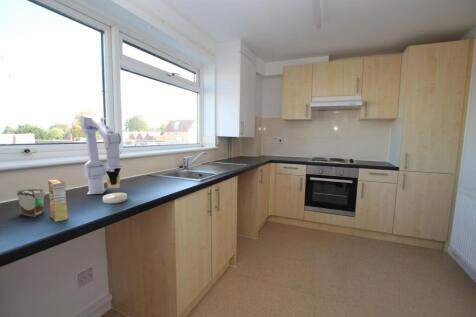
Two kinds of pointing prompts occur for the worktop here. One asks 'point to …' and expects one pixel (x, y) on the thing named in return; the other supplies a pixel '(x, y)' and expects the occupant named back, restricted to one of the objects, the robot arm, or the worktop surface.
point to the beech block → (114, 185)
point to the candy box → (58, 200)
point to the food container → (31, 201)
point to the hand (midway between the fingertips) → (114, 183)
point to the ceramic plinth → (114, 198)
